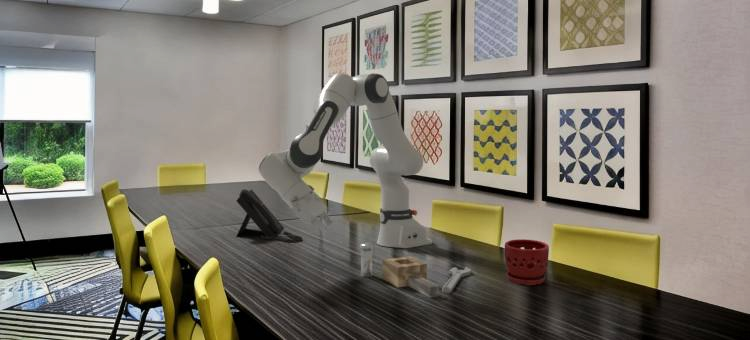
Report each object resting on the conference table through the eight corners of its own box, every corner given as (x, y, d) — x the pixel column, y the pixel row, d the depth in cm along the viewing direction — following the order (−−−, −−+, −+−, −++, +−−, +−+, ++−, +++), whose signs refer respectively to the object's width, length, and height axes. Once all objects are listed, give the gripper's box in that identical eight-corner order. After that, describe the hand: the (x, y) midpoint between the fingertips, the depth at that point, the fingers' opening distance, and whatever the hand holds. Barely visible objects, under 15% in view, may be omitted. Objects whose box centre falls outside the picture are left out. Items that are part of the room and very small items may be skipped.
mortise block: (409, 274, 172) (410, 256, 172) (449, 294, 153) (449, 274, 152) (382, 278, 168) (382, 259, 167) (419, 299, 148) (419, 278, 148)
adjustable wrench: (450, 295, 154) (450, 289, 154) (428, 292, 157) (428, 286, 156) (472, 273, 176) (472, 267, 176) (453, 270, 179) (453, 265, 179)
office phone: (300, 243, 216) (300, 193, 214) (229, 242, 216) (229, 192, 214) (308, 229, 245) (308, 185, 244) (246, 228, 245) (246, 184, 243)
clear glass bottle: (369, 273, 174) (370, 242, 173) (375, 276, 170) (376, 245, 169) (357, 274, 172) (357, 243, 171) (363, 278, 168) (363, 246, 167)
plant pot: (499, 275, 173) (500, 238, 172) (540, 276, 173) (542, 239, 172) (508, 287, 160) (509, 247, 159) (553, 288, 160) (554, 248, 159)
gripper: (296, 193, 161) (328, 226, 160) (312, 185, 181) (341, 215, 180) (281, 207, 162) (313, 240, 161) (299, 198, 182) (327, 227, 181)
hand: (328, 227), depth 171 cm, fingers open, 8 cm apart
